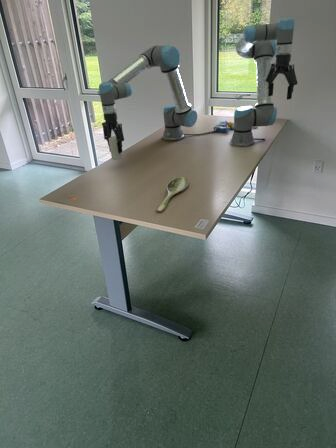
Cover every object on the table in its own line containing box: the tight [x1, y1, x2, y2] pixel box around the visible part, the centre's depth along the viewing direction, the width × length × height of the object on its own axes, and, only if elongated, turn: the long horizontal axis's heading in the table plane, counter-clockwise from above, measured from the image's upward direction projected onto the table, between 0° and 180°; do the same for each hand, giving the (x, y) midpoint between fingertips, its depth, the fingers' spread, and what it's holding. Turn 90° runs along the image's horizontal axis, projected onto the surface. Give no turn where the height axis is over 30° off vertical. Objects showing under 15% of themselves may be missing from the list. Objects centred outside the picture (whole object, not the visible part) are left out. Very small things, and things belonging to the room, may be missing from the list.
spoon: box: [157, 176, 190, 213], centre depth 167 cm, size 35×11×2 cm, turn 159°
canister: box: [108, 135, 123, 161], centre depth 199 cm, size 6×6×13 cm
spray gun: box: [213, 120, 234, 133], centre depth 256 cm, size 21×4×15 cm
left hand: (116, 151), depth 201 cm, fingers closed on canister, 6 cm apart
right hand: (279, 97), depth 181 cm, fingers open, 13 cm apart
